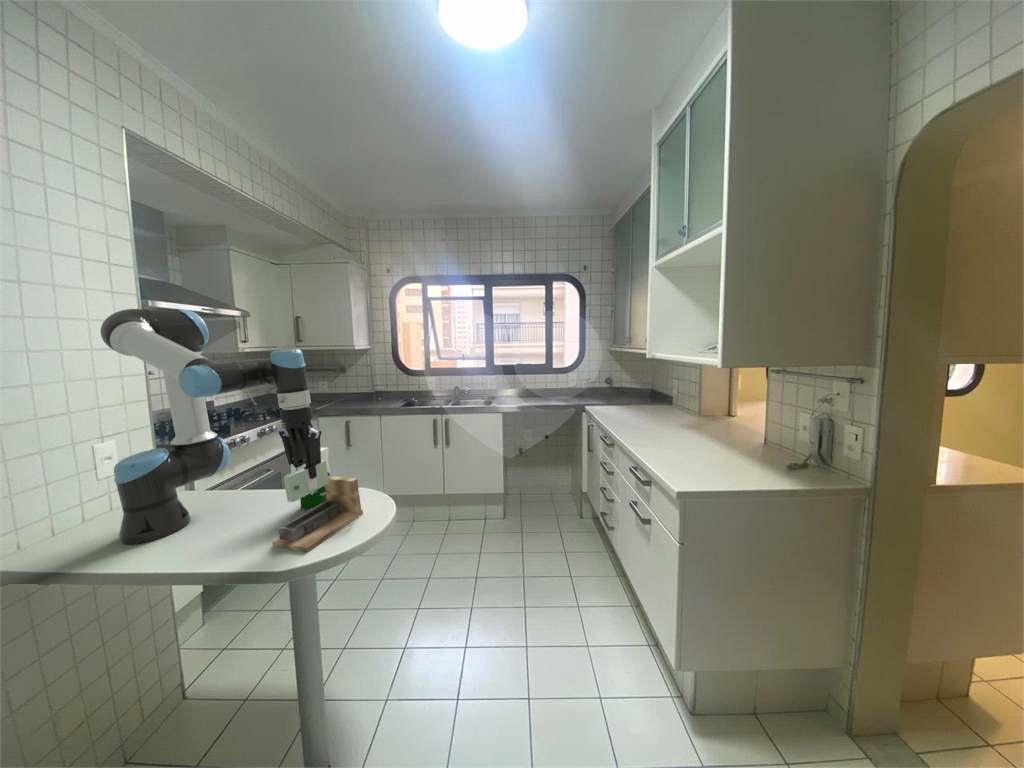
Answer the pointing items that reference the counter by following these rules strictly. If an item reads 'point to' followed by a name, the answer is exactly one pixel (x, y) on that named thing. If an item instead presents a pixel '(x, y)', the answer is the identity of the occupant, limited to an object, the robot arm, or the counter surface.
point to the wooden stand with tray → (323, 516)
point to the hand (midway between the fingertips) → (308, 488)
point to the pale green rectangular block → (304, 482)
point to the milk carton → (320, 494)
